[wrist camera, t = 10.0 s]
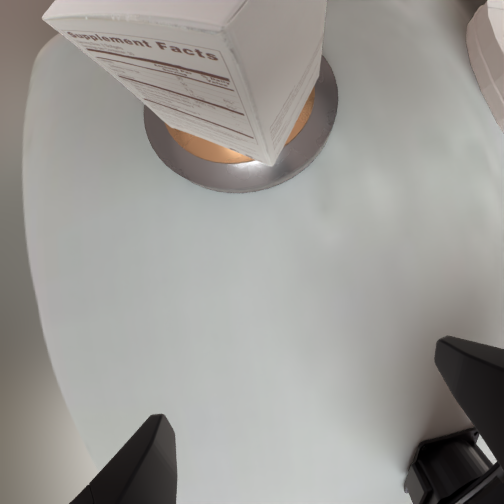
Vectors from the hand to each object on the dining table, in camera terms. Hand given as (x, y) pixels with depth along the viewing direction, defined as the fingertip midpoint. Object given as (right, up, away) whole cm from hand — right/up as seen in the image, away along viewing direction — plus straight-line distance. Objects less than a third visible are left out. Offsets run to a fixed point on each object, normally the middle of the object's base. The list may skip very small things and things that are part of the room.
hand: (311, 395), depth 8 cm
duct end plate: (-3, +14, +11) cm, 18 cm away
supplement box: (-2, +14, +9) cm, 17 cm away
